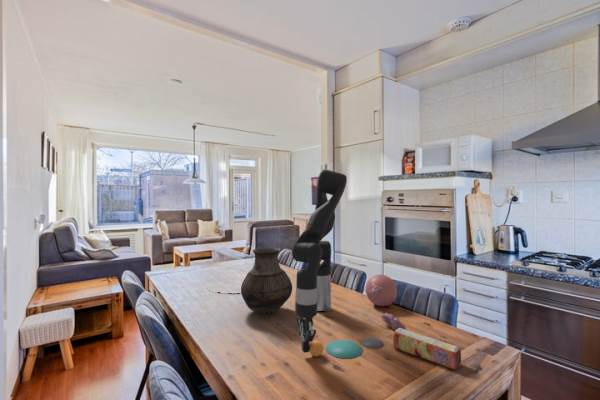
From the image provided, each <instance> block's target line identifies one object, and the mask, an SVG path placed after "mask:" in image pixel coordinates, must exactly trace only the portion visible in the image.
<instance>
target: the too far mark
mask: <svg viewBox="0 0 600 400" xmlns="http://www.w3.org/2000/svg"><path fill="white" fill-rule="evenodd" d="M361 345H362V346H364V347H366V348H369V349H380V348H382V347H383V346H384V345H385V344H384V342H383V341H382V340H381V339H379V338H377V337H376V338H375V337H365V338H363V339H362V340H361Z"/></svg>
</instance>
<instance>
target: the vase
mask: <svg viewBox="0 0 600 400" xmlns="http://www.w3.org/2000/svg"><path fill="white" fill-rule="evenodd" d="M281 250H282V249H281V248H278V247H261V248H254V249H252V252H253V255H254V263H253V268H251V270H249V272H248V273H247V274H246V275H245V276H246V277H245V278H244V280H243V282H242V285H241V294H240V295H241V297H242V299H243V301H244V304H245V305H246V306H247V308H249V310H250V311H251V312H254V313H258V314H273V313H275V312H277V311H279V309H281V307H283V305H284V304H285V303H286V302H288V300H289V299H290V297H291V296H292V293H293V284H292V281H291V278H290V276H289V275H288V274H287V272H286V271H285V270H284V269H283V268H281V265H280V262H279V258H278V257H279V253H280V252H281Z"/></svg>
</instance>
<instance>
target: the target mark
mask: <svg viewBox="0 0 600 400" xmlns="http://www.w3.org/2000/svg"><path fill="white" fill-rule="evenodd" d="M325 351H326V353H327V354H329V355H331V356H332V357H334V358H338V359H343V360H344V359H347V360H348V359H354V358H357V357H359V356H362V354H363V348H362V346H361V345H360V344H359V343H357V342H355V341H351V340H348V339H347V340H346V339H336V340H332V341H330V342H328V343H327V344H326V346H325Z"/></svg>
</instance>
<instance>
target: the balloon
mask: <svg viewBox="0 0 600 400" xmlns="http://www.w3.org/2000/svg"><path fill="white" fill-rule="evenodd" d="M364 289H365V294H366V297H367V299H368V301H370V302H371V303H372V304H373V305H375V306H378V307H387V306H390V305H391V304H393V303H394V301H395V300H396V298H397V295H398V288H397V285H396V283H395V282H394V280H393V279H392V278H391V277H389V276H387V275H384V274H375V275H373V276H371V277H370V278H369V279H368V280H367V281H366V285H365V288H364Z"/></svg>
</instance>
